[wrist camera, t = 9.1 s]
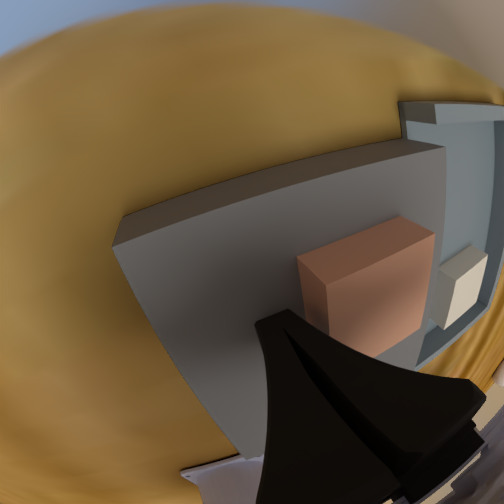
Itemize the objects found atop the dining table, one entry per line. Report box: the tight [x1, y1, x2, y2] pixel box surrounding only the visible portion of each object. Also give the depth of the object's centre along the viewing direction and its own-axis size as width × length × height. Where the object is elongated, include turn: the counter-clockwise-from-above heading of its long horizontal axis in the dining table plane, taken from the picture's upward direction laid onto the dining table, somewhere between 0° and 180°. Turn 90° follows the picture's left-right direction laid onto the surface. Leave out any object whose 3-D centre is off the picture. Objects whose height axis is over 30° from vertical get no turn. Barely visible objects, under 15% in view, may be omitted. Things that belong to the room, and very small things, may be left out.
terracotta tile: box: [297, 216, 435, 358], centre depth 11 cm, size 5×5×2 cm
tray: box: [398, 101, 504, 372], centre depth 17 cm, size 20×13×2 cm, turn 13°
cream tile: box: [429, 245, 488, 330], centre depth 18 cm, size 5×5×2 cm
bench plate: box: [112, 138, 447, 460], centre depth 14 cm, size 17×14×3 cm
